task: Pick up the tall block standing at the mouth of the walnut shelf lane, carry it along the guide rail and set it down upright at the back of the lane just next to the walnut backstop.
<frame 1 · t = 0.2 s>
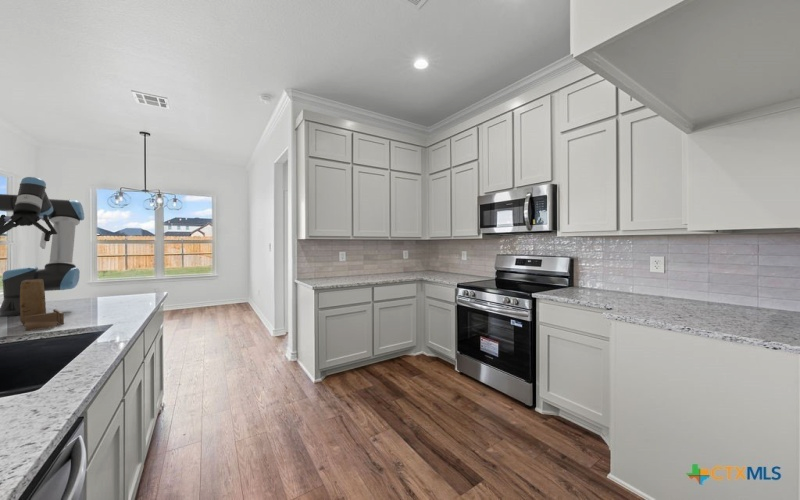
hand: (18, 248, 130), 35 cm above the countertop, tool tilted 35°, fingers open, 13 cm apart
lane backstop: (41, 328, 136), on the countertop
block: (34, 323, 144), on the countertop
lane rail: (58, 321, 146), on the countertop
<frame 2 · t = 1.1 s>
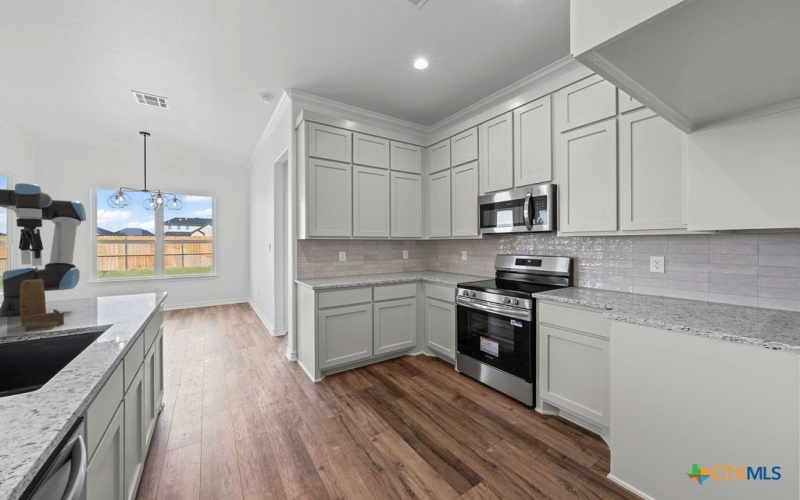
hand: (31, 265, 143), 27 cm above the countertop, tool pointing down, fingers open, 13 cm apart
nothing on the countertop moved.
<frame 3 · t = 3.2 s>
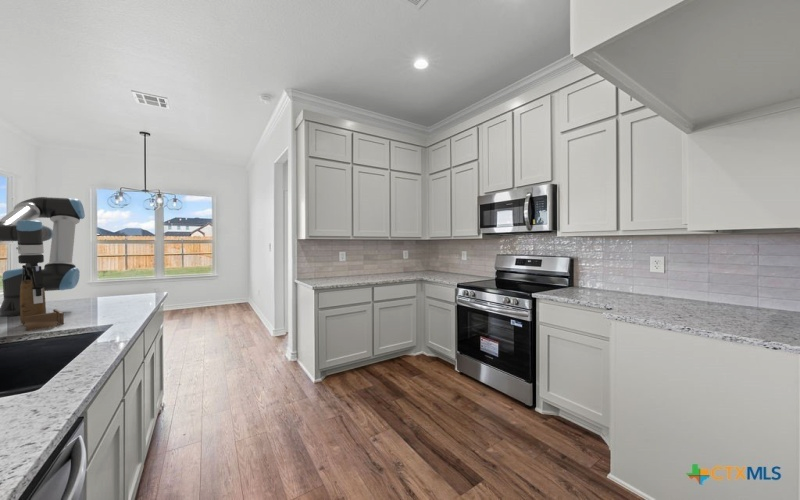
hand: (33, 302, 144), 10 cm above the countertop, tool pointing down, fingers closed on block, 11 cm apart
block: (34, 323, 144), on the countertop, touching gripper
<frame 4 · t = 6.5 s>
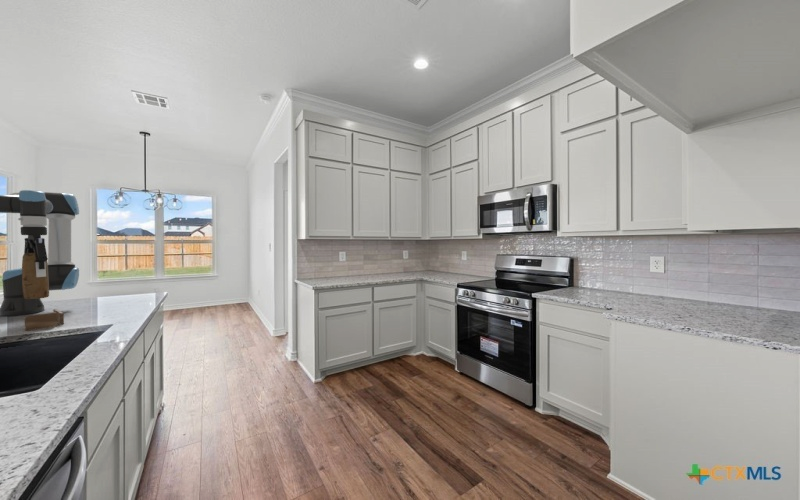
hand: (36, 276, 138), 22 cm above the countertop, tool pointing down, fingers closed on block, 11 cm apart
block: (37, 298, 139), point 12 cm above the countertop, touching gripper
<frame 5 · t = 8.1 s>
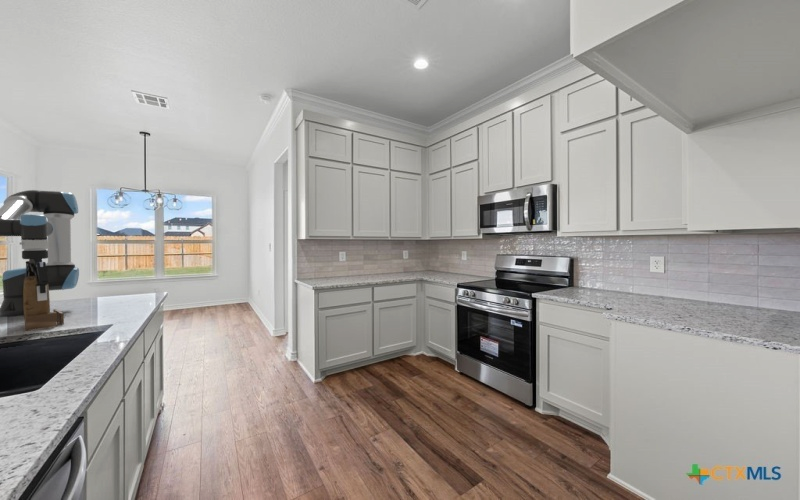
hand: (37, 299, 139), 12 cm above the countertop, tool pointing down, fingers closed on block, 11 cm apart
block: (38, 321, 139), point 2 cm above the countertop, touching gripper
when the fingers open (11 cm above the countertop, at t = 9.4 s): block drops 1 cm, on the countertop.
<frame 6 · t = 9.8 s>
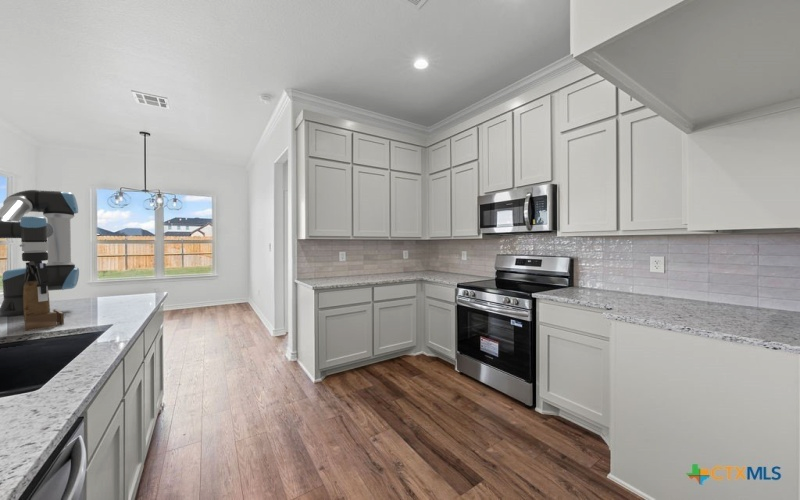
hand: (37, 299, 139), 12 cm above the countertop, tool pointing down, fingers open, 13 cm apart
block: (38, 326, 140), on the countertop
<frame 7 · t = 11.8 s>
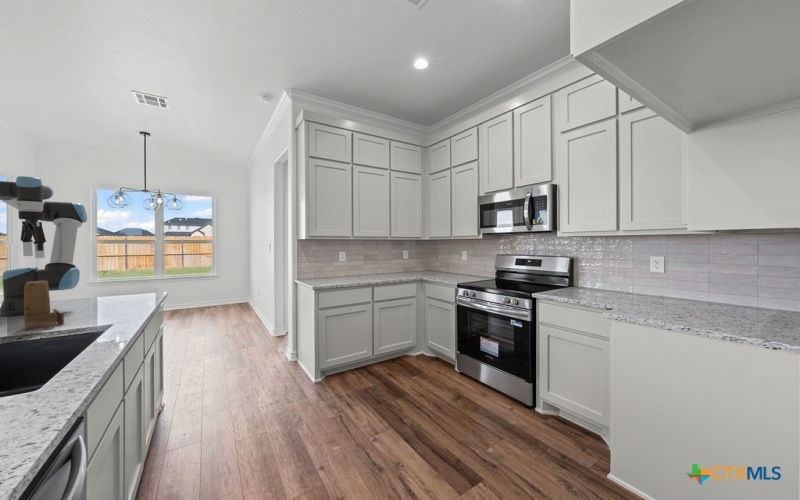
hand: (34, 257, 146), 30 cm above the countertop, tool pointing down, fingers open, 13 cm apart
nothing on the countertop moved.
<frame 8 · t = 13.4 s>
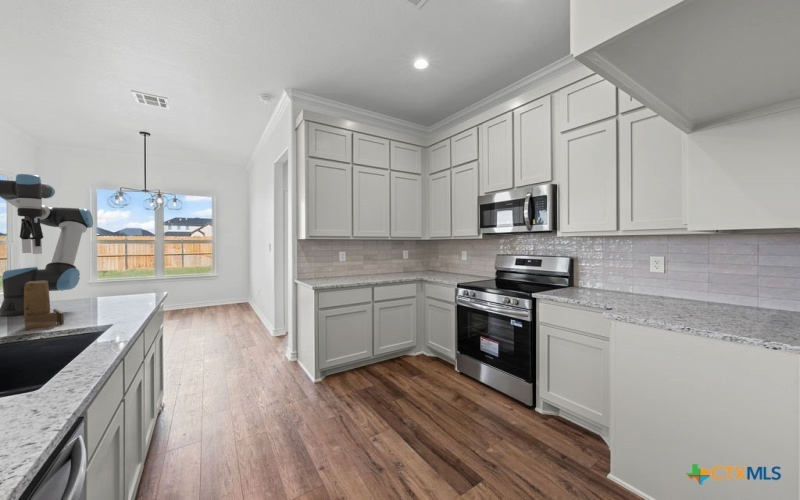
hand: (32, 253, 148), 32 cm above the countertop, tool pointing down, fingers open, 13 cm apart
nothing on the countertop moved.
at the end: block inside the target area (0.7 cm from its centre), on the countertop; block tilted 0°; the gripper is holding nothing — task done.
